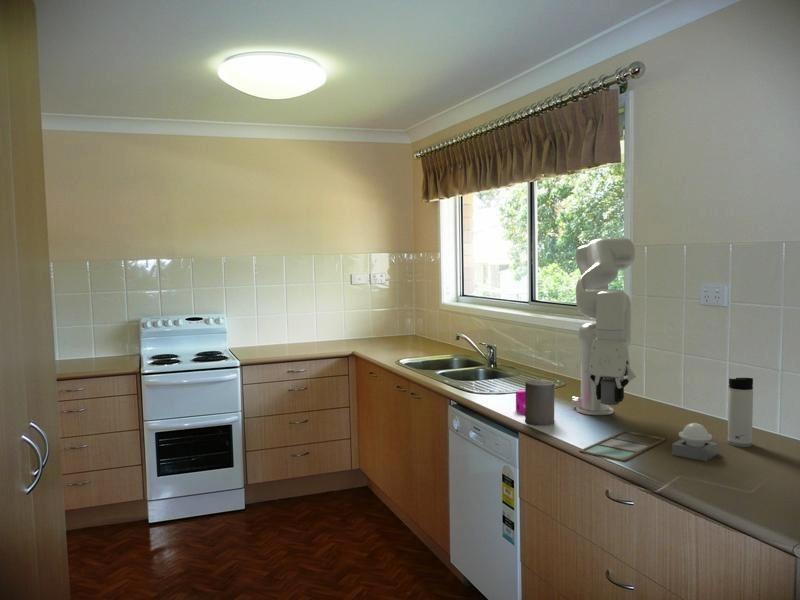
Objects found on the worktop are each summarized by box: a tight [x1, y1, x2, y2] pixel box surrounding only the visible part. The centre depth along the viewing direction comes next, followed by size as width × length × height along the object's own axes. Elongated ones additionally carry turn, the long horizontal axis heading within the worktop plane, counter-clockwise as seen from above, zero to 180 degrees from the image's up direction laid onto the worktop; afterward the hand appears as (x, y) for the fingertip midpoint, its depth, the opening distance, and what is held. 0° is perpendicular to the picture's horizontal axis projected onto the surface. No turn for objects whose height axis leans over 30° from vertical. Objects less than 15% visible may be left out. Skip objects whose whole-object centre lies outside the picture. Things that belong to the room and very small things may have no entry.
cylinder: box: [601, 376, 620, 406], centre depth 179 cm, size 5×5×10 cm
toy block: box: [515, 390, 525, 416], centre depth 224 cm, size 15×6×8 cm, turn 18°
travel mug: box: [727, 377, 754, 448], centre depth 186 cm, size 6×7×20 cm
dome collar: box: [671, 438, 719, 462], centre depth 178 cm, size 9×9×3 cm
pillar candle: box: [524, 377, 555, 427], centre depth 214 cm, size 10×10×15 cm
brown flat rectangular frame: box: [579, 430, 667, 463], centre depth 187 cm, size 13×28×1 cm, turn 135°
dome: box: [678, 422, 713, 448], centre depth 178 cm, size 8×8×7 cm
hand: (609, 399), depth 179 cm, fingers closed on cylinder, 4 cm apart
